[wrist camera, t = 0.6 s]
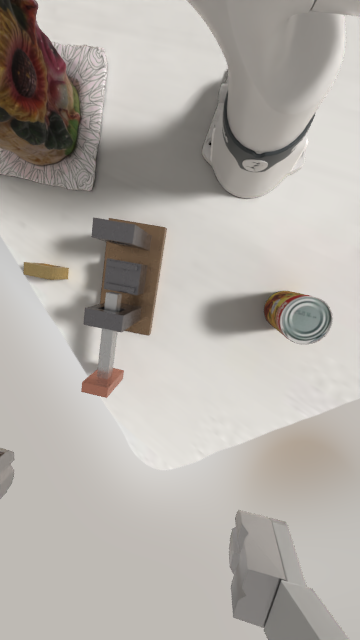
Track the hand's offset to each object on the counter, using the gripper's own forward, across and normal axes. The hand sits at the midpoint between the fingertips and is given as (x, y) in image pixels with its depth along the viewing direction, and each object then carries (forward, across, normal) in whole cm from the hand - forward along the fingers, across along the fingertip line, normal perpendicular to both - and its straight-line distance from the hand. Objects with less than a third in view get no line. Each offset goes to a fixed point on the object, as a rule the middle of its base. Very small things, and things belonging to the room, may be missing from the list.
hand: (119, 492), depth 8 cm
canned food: (+44, -18, -3) cm, 48 cm away
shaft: (+39, +15, +8) cm, 43 cm away
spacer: (+44, +33, -3) cm, 55 cm away
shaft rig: (+44, +15, -4) cm, 47 cm away
